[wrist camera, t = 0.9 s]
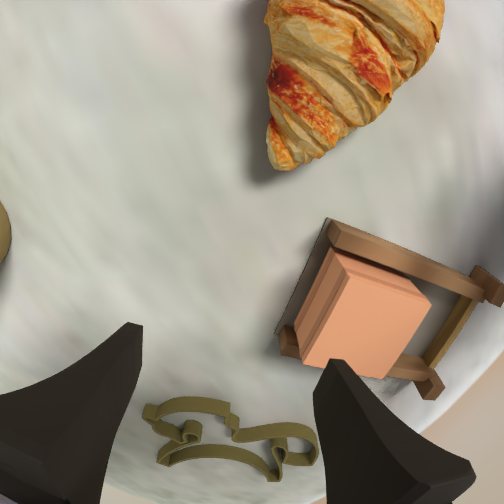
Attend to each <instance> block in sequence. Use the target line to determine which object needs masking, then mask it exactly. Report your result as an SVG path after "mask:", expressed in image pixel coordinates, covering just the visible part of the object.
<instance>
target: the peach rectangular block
mask: <svg viewBox="0 0 504 504" xmlns="http://www.w3.org/2000/svg"><path fill="white" fill-rule="evenodd" d="M431 306H432V305H431V304H430V302H429V301H428V299H427V297H426V296H425V295H423V294H422V293H421V292H420V291H419V290H418V289H417V288H416V287H415V286H414V284H413V283H412V282H411V280H410V279H409V278H408V277H407V276H405V275H404V274H403V273H401V272H399V271H396V270H393V269H391V268H388V267H385V266H382V265H380V264H377V263H374V262H372V261H369V260H366V259H363V258H361V257H358V256H355V255H352V254H350V253H347V252H344V251H341V250H339V249H336V248H333V247H330V248H329V250H328V253H327V255H326V257H325V259H324V261H323V263H322V266H321V268H320V270H319V272H318V274H317V276H316V278H315V280H314V283H313V285H312V287H311V289H310V291H309V293H308V295H307V297H306V299H305V301H304V303H303V305H302V307H301V309H300V311H299V313H298V315H297V317H296V319H295V321H294V325H295V327H294V330H295V333H296V334H297V339H298V344H299V348H300V351H299V354H300V358H302V363H303V364H305V365H310V366H315V367H319V368H324V369H325V367H326V365H327V363H328V361H329V358H334V359H344V360H345V361H346V362H347V364H348V365H349V366H350V367H351V368H352V369H353V370H354V372H355V373H356V374H357V375H361V376H367V377H373V378H379V379H383V378H384V377H385V375H386V374H387V373H388V371H389V370H390V369H391V367H392V366H393V364H394V363H395V362H396V360H397V359H398V357H399V356H400V354H401V353H402V351H403V350H404V348H405V347H406V345H407V344H408V342H409V341H410V339H411V338H412V336H413V335H414V333H415V332H416V330H417V329H418V327H419V325H420V324H421V322H422V321H423V319H424V317H425V316H426V314H427V312H428V311H429V309H430V307H431Z"/></svg>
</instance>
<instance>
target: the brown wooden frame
mask: <svg viewBox="0 0 504 504" xmlns="http://www.w3.org/2000/svg"><path fill="white" fill-rule="evenodd" d="M330 247H333V248H336V249H339V250H341V251H344V252H347V253H350V254H352V255H355V256H358V257H361V258H363V259H366V260H369V261H372V262H374V263H377V264H380V265H382V266H385V267H388V268H391V269H393V270H396V271H399V272H401V273H403V274H404V275H405V276H407V277H408V278H409V279H410V280H411V282H412V283H413V284H414V286H415V287H416V288H417V289H418V290H419V291H420V292H421V293H422V294H423V295H425V296H426V297H427V299H428V301H429V302H430V304H431V305H432V306H431V307H430V309H429V311H428V312H427V314H426V316H425V317H424V319H423V321H422V322H421V324H420V325H419V327H418V329H417V330H416V332H415V333H414V335H413V336H412V338H411V339H410V341H409V342H408V344H407V345H406V347H405V348H404V350H403V351H402V353H401V354H400V356H399V357H398V359H397V360H396V362H395V363H394V364H393V366H392V367H391V369H390V370H389V371H388V373H387V374H386V375H385V376H388V377H395V378H401V379H408V380H413V382H414V384H415V386H416V388H417V389H418V391H419V393H420V395H421V397H422V399H423V400H436V398H437V397H438V396H439V395H440V394H441V392H442V391H443V390H444V389H445V388H446V387H445V386H444V384H443V383H442V381H441V379H440V378H439V376H438V375H437V373H436V371H435V370H434V368H435V367H436V365H437V364H438V363H439V361H440V360H441V359H442V357H443V356H444V354H445V353H446V351H447V350H448V349H449V347H450V346H451V344H452V343H453V341H454V340H455V338H456V337H457V335H458V334H459V332H460V331H461V329H462V327H463V326H464V324H465V323H466V321H467V319H468V318H469V316H470V315H471V313H472V311H473V310H474V308H475V306H476V304H477V303H478V301H479V302H481V303H483V302H484V300H485V299H486V300H487V301H488V302H489V303H491V304H493V305H496V306H498V307H501V306H502V304H503V302H504V284H503V283H501V282H500V281H499V280H498V279H496V278H495V277H494V276H493V275H491V274H490V273H489V272H487V271H486V270H484V269H482V268H480V267H478V266H475V268H474V270H473V272H472V274H471V276H470V277H469V276H467V275H464V274H462V273H460V272H458V271H456V270H454V269H451V268H449V267H447V266H445V265H442V264H440V263H438V262H436V261H433V260H431V259H429V258H427V257H424V256H422V255H420V254H417V253H415V252H413V251H410V250H408V249H406V248H403V247H401V246H398V245H396V244H394V243H391V242H389V241H386V240H384V239H381V238H379V237H377V236H374V235H372V234H369V233H367V232H364V231H362V230H359V229H357V228H354V227H351V226H349V225H346V224H344V223H341V222H339V221H336V220H333V219H331V218H328V217H327V219H326V221H325V224H324V226H323V228H322V230H321V233H320V235H319V237H318V240H317V242H316V244H315V246H314V249H313V251H312V253H311V255H310V258H309V260H308V262H307V264H306V267H305V269H304V271H303V273H302V275H301V278H300V280H299V282H298V284H297V286H296V289H295V291H294V293H293V295H292V297H291V299H290V301H289V304H288V306H287V308H286V310H285V312H284V314H283V316H282V318H281V320H280V322H279V325H278V327H277V329H276V331H275V333H274V334H276V335H278V336H279V343H280V351H281V355H284V356H288V357H292V358H297V359H301V360H302V358H300V354H299V351H300V348H299V344H298V339H297V334H296V333H295V330H294V327H295V325H294V321H295V319H296V317H297V315H298V313H299V311H300V309H301V307H302V305H303V303H304V301H305V299H306V297H307V295H308V293H309V291H310V289H311V287H312V285H313V283H314V280H315V278H316V276H317V274H318V272H319V270H320V268H321V266H322V263H323V261H324V259H325V257H326V255H327V253H328V250H329V248H330Z"/></svg>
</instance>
